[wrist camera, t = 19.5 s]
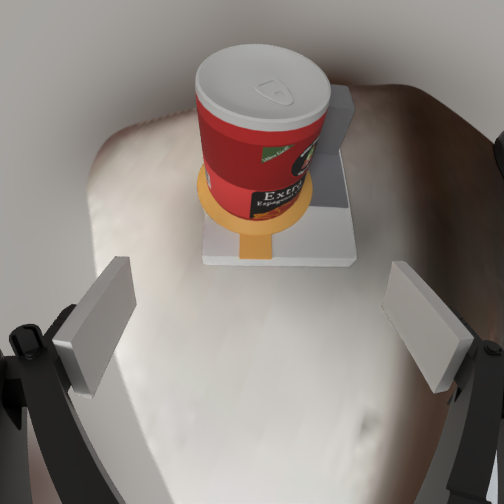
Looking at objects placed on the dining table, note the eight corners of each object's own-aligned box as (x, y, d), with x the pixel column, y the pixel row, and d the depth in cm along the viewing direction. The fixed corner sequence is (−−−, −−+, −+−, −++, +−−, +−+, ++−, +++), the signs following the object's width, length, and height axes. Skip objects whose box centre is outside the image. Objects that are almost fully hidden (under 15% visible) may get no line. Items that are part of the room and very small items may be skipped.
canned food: (263, 243, 24) (281, 147, 14) (186, 185, 26) (164, 81, 15) (318, 180, 26) (355, 80, 16) (246, 133, 28) (251, 31, 18)
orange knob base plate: (330, 139, 31) (351, 80, 24) (349, 269, 26) (390, 226, 18) (206, 133, 31) (200, 70, 23) (194, 267, 26) (177, 219, 18)
